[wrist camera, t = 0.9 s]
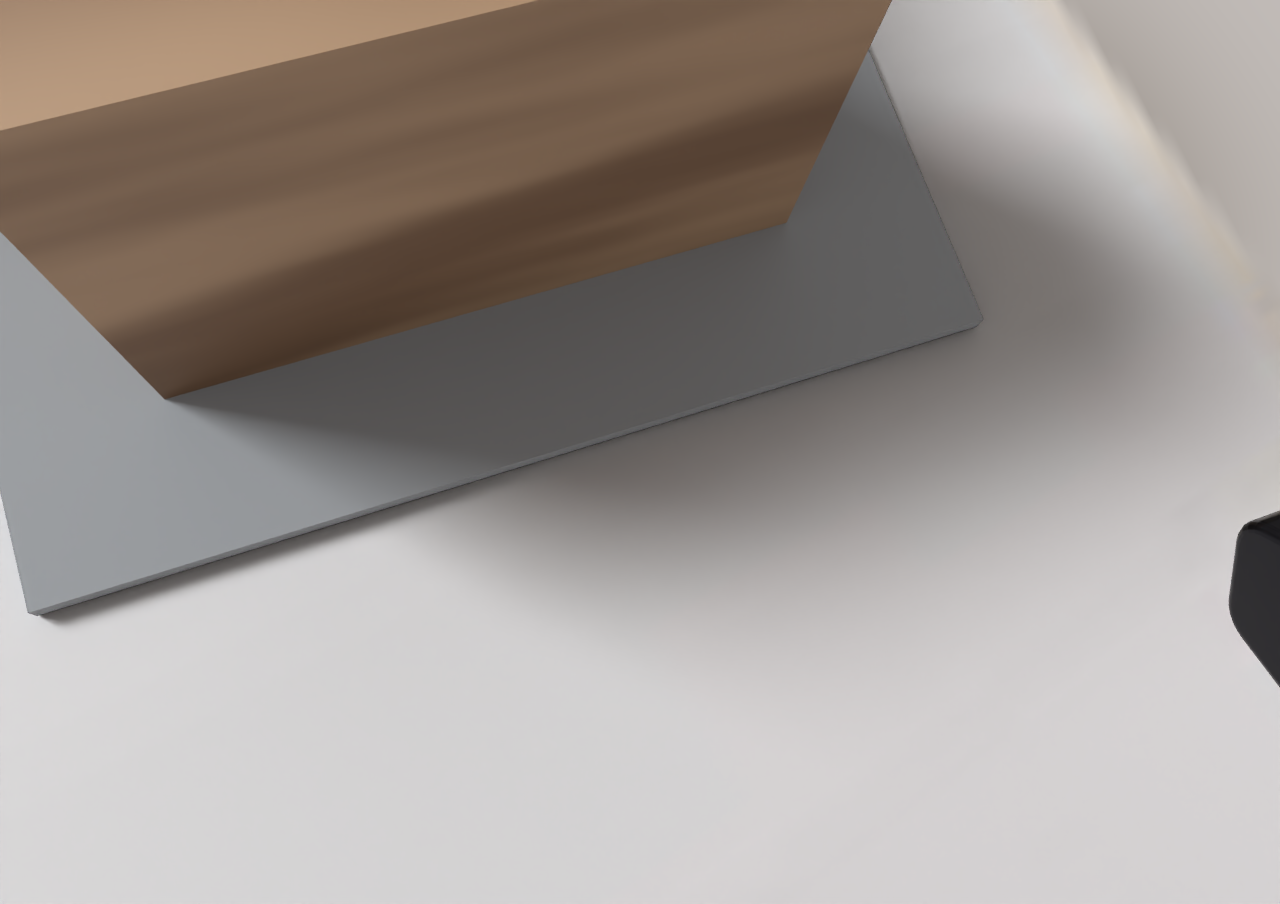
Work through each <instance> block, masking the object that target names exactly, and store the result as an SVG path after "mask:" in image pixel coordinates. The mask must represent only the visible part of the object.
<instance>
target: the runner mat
mask: <svg viewBox="0 0 1280 904" xmlns="http://www.w3.org/2000/svg"><path fill="white" fill-rule="evenodd" d="M982 320H983V317H982V314H981V312H980V309H979V307H978V305H977V302H976V300H975V298H974V295H973V293H972V291H971V288H970V286H969V284H968V281H967V279H966V277H965V274H964V272H963V270H962V267H961V265H960V263H959V260H958V258H957V256H956V253H955V251H954V249H953V246H952V244H951V242H950V239H949V237H948V235H947V232H946V230H945V228H944V225H943V223H942V221H941V218H940V216H939V214H938V211H937V209H936V207H935V204H934V202H933V199H932V197H931V195H930V192H929V190H928V188H927V185H926V183H925V181H924V178H923V176H922V174H921V171H920V169H919V167H918V164H917V162H916V160H915V157H914V155H913V153H912V150H911V148H910V146H909V143H908V141H907V139H906V136H905V134H904V132H903V129H902V127H901V125H900V122H899V120H898V118H897V115H896V113H895V111H894V108H893V106H892V104H891V101H890V99H889V96H888V94H887V92H886V89H885V87H884V85H883V82H882V80H881V78H880V75H879V73H878V71H877V68H876V66H875V64H874V61H873V59H872V57H871V54H870V52H869V50H868V52H867V54H866V56H865V58H864V60H863V62H862V64H861V66H860V68H859V71H858V73H857V75H856V77H855V79H854V81H853V83H852V85H851V87H850V90H849V92H848V94H847V96H846V98H845V100H844V102H843V104H842V106H841V109H840V111H839V113H838V115H837V117H836V119H835V121H834V123H833V125H832V127H831V130H830V132H829V134H828V136H827V138H826V140H825V142H824V144H823V146H822V149H821V151H820V153H819V155H818V157H817V159H816V161H815V163H814V165H813V168H812V170H811V172H810V174H809V176H808V178H807V180H806V182H805V184H804V187H803V189H802V191H801V193H800V195H799V197H798V199H797V201H796V203H795V206H794V208H793V210H792V212H791V214H790V216H789V218H788V220H787V222H786V223H784V224H780V225H777V226H773V227H770V228H766V229H763V230H759V231H756V232H752V233H748V234H745V235H741V236H738V237H734V238H731V239H727V240H724V241H720V242H717V243H713V244H710V245H706V246H703V247H699V248H696V249H692V250H689V251H685V252H682V253H678V254H675V255H671V256H668V257H664V258H660V259H657V260H653V261H650V262H646V263H643V264H639V265H636V266H632V267H629V268H625V269H622V270H618V271H615V272H611V273H608V274H604V275H601V276H597V277H594V278H590V279H587V280H583V281H579V282H576V283H572V284H569V285H565V286H562V287H558V288H555V289H551V290H548V291H544V292H541V293H537V294H534V295H530V296H527V297H523V298H520V299H516V300H513V301H509V302H506V303H502V304H499V305H495V306H491V307H488V308H484V309H481V310H477V311H474V312H470V313H467V314H463V315H460V316H456V317H453V318H449V319H446V320H442V321H439V322H435V323H432V324H428V325H425V326H421V327H418V328H414V329H410V330H407V331H403V332H400V333H396V334H393V335H389V336H386V337H382V338H379V339H375V340H372V341H368V342H365V343H361V344H358V345H354V346H351V347H347V348H344V349H340V350H337V351H333V352H330V353H326V354H322V355H319V356H315V357H312V358H308V359H305V360H301V361H298V362H294V363H291V364H287V365H284V366H280V367H277V368H273V369H270V370H266V371H263V372H259V373H256V374H252V375H249V376H245V377H241V378H238V379H234V380H231V381H227V382H224V383H220V384H217V385H213V386H210V387H206V388H203V389H199V390H196V391H192V392H189V393H185V394H182V395H178V396H175V397H171V398H168V399H164V398H163V397H162V396H161V395H160V394H159V393H158V392H157V391H156V390H155V389H154V388H153V387H152V386H151V385H150V384H149V383H148V382H147V381H146V380H145V379H144V378H143V377H142V376H141V375H140V374H139V373H138V372H137V371H136V370H135V369H134V368H133V367H132V366H131V365H130V364H129V363H128V362H127V361H126V360H125V359H124V358H123V356H122V355H121V354H120V353H119V352H118V351H117V350H116V349H115V348H114V347H113V346H112V345H111V344H110V343H109V342H108V341H107V340H106V339H105V338H104V337H103V336H102V335H101V334H100V333H99V332H98V331H97V330H96V329H95V328H94V327H93V326H92V325H91V324H90V323H89V322H88V321H87V320H86V319H85V318H84V317H83V316H82V315H81V314H80V313H79V312H78V311H77V310H76V309H75V307H74V306H73V305H72V304H71V303H70V302H69V301H68V300H67V299H66V298H65V297H64V296H63V295H62V294H61V293H60V292H59V291H58V290H57V289H56V288H55V287H54V286H53V285H52V284H51V283H50V282H49V281H48V280H47V279H46V278H45V277H44V276H43V275H42V274H41V273H40V272H39V271H38V270H37V269H36V268H35V267H34V266H33V265H32V264H31V263H30V262H29V261H28V260H27V258H26V257H25V256H24V255H23V254H22V253H21V252H20V251H19V250H18V249H17V248H16V247H15V246H14V245H13V244H12V243H11V242H10V241H9V240H8V239H7V238H6V237H5V236H4V235H3V234H2V233H1V232H0V493H1V497H2V502H3V506H4V510H5V515H6V519H7V523H8V528H9V532H10V537H11V541H12V545H13V550H14V554H15V558H16V563H17V567H18V572H19V576H20V580H21V585H22V589H23V594H24V598H25V602H26V607H27V611H28V613H30V614H33V615H36V616H38V615H41V614H45V613H48V612H51V611H54V610H58V609H61V608H64V607H67V606H71V605H74V604H77V603H80V602H84V601H87V600H90V599H93V598H97V597H100V596H103V595H106V594H110V593H113V592H116V591H119V590H123V589H126V588H129V587H132V586H136V585H139V584H142V583H145V582H149V581H152V580H155V579H158V578H162V577H165V576H168V575H171V574H175V573H178V572H181V571H184V570H188V569H191V568H194V567H197V566H201V565H204V564H207V563H210V562H214V561H217V560H220V559H223V558H227V557H230V556H233V555H236V554H240V553H243V552H246V551H249V550H253V549H256V548H259V547H262V546H266V545H269V544H272V543H275V542H279V541H282V540H285V539H288V538H292V537H295V536H298V535H301V534H305V533H308V532H311V531H314V530H317V529H321V528H324V527H327V526H330V525H334V524H337V523H340V522H343V521H347V520H350V519H353V518H356V517H360V516H363V515H366V514H369V513H373V512H376V511H379V510H382V509H386V508H389V507H392V506H395V505H399V504H402V503H405V502H408V501H412V500H415V499H418V498H421V497H425V496H428V495H431V494H434V493H438V492H441V491H444V490H447V489H451V488H454V487H457V486H460V485H464V484H467V483H470V482H473V481H477V480H480V479H483V478H486V477H490V476H493V475H496V474H499V473H503V472H506V471H509V470H512V469H516V468H519V467H522V466H525V465H529V464H532V463H535V462H538V461H542V460H545V459H548V458H551V457H555V456H558V455H561V454H564V453H568V452H571V451H574V450H577V449H580V448H584V447H587V446H590V445H593V444H597V443H600V442H603V441H606V440H610V439H613V438H616V437H619V436H623V435H626V434H629V433H632V432H636V431H639V430H642V429H645V428H649V427H652V426H655V425H658V424H662V423H665V422H668V421H671V420H675V419H678V418H681V417H684V416H688V415H691V414H694V413H697V412H701V411H704V410H707V409H710V408H714V407H717V406H720V405H723V404H727V403H730V402H733V401H736V400H740V399H743V398H746V397H749V396H753V395H756V394H759V393H762V392H766V391H769V390H772V389H775V388H779V387H782V386H785V385H788V384H792V383H795V382H798V381H801V380H805V379H808V378H811V377H814V376H818V375H821V374H824V373H827V372H831V371H834V370H837V369H840V368H844V367H847V366H850V365H853V364H856V363H860V362H863V361H866V360H869V359H873V358H876V357H879V356H882V355H886V354H889V353H892V352H895V351H899V350H902V349H905V348H908V347H912V346H915V345H918V344H921V343H925V342H928V341H931V340H934V339H938V338H941V337H944V336H947V335H951V334H954V333H957V332H960V331H964V330H967V329H970V328H973V327H976V326H977V325H978V324H979V323H980V322H981V321H982Z"/></svg>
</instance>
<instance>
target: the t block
mask: <svg viewBox="0 0 1280 904" xmlns="http://www.w3.org/2000/svg"><path fill="white" fill-rule="evenodd" d="M891 1H892V0H0V232H1V233H2V234H3V235H4V236H5V237H6V238H7V239H8V240H9V241H10V242H11V243H12V244H13V245H14V246H15V247H16V248H17V249H18V250H19V251H20V252H21V253H22V254H23V255H24V256H25V257H26V258H27V260H28V261H29V262H30V263H31V264H32V265H33V266H34V267H35V268H36V269H37V270H38V271H39V272H40V273H41V274H42V275H43V276H44V277H45V278H46V279H47V280H48V281H49V282H50V283H51V284H52V285H53V286H54V287H55V288H56V289H57V290H58V291H59V292H60V293H61V294H62V295H63V296H64V297H65V298H66V299H67V300H68V301H69V302H70V303H71V304H72V305H73V306H74V307H75V309H76V310H77V311H78V312H79V313H80V314H81V315H82V316H83V317H84V318H85V319H86V320H87V321H88V322H89V323H90V324H91V325H92V326H93V327H94V328H95V329H96V330H97V331H98V332H99V333H100V334H101V335H102V336H103V337H104V338H105V339H106V340H107V341H108V342H109V343H110V344H111V345H112V346H113V347H114V348H115V349H116V350H117V351H118V352H119V353H120V354H121V355H122V356H123V358H124V359H125V360H126V361H127V362H128V363H129V364H130V365H131V366H132V367H133V368H134V369H135V370H136V371H137V372H138V373H139V374H140V375H141V376H142V377H143V378H144V379H145V380H146V381H147V382H148V383H149V384H150V385H151V386H152V387H153V388H154V389H155V390H156V391H157V392H158V393H159V394H160V395H161V396H162V397H163V398H164V399H168V398H171V397H175V396H178V395H182V394H185V393H189V392H192V391H196V390H199V389H203V388H206V387H210V386H213V385H217V384H220V383H224V382H227V381H231V380H234V379H238V378H241V377H245V376H249V375H252V374H256V373H259V372H263V371H266V370H270V369H273V368H277V367H280V366H284V365H287V364H291V363H294V362H298V361H301V360H305V359H308V358H312V357H315V356H319V355H322V354H326V353H330V352H333V351H337V350H340V349H344V348H347V347H351V346H354V345H358V344H361V343H365V342H368V341H372V340H375V339H379V338H382V337H386V336H389V335H393V334H396V333H400V332H403V331H407V330H410V329H414V328H418V327H421V326H425V325H428V324H432V323H435V322H439V321H442V320H446V319H449V318H453V317H456V316H460V315H463V314H467V313H470V312H474V311H477V310H481V309H484V308H488V307H491V306H495V305H499V304H502V303H506V302H509V301H513V300H516V299H520V298H523V297H527V296H530V295H534V294H537V293H541V292H544V291H548V290H551V289H555V288H558V287H562V286H565V285H569V284H572V283H576V282H579V281H583V280H587V279H590V278H594V277H597V276H601V275H604V274H608V273H611V272H615V271H618V270H622V269H625V268H629V267H632V266H636V265H639V264H643V263H646V262H650V261H653V260H657V259H660V258H664V257H668V256H671V255H675V254H678V253H682V252H685V251H689V250H692V249H696V248H699V247H703V246H706V245H710V244H713V243H717V242H720V241H724V240H727V239H731V238H734V237H738V236H741V235H745V234H748V233H752V232H756V231H759V230H763V229H766V228H770V227H773V226H777V225H780V224H784V223H786V222H787V220H788V218H789V216H790V214H791V212H792V210H793V208H794V206H795V203H796V201H797V199H798V197H799V195H800V193H801V191H802V189H803V187H804V184H805V182H806V180H807V178H808V176H809V174H810V172H811V170H812V168H813V165H814V163H815V161H816V159H817V157H818V155H819V153H820V151H821V149H822V146H823V144H824V142H825V140H826V138H827V136H828V134H829V132H830V130H831V127H832V125H833V123H834V121H835V119H836V117H837V115H838V113H839V111H840V109H841V106H842V104H843V102H844V100H845V98H846V96H847V94H848V92H849V90H850V87H851V85H852V83H853V81H854V79H855V77H856V75H857V73H858V71H859V68H860V66H861V64H862V62H863V60H864V58H865V56H866V54H867V52H868V49H869V47H870V45H871V43H872V41H873V39H874V37H875V35H876V33H877V30H878V28H879V26H880V24H881V22H882V20H883V18H884V16H885V14H886V11H887V9H888V7H889V5H890V3H891Z"/></svg>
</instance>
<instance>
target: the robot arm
mask: <svg viewBox="0 0 1280 904" xmlns="http://www.w3.org/2000/svg"><path fill="white" fill-rule="evenodd" d="M1229 610H1230V615H1231V618H1232V620H1233V623H1234V625H1235V627H1236V629H1237V631H1238V632H1239V634H1240V636H1241V637H1242V638H1243V640H1244V641H1245V642H1246V644H1247V645H1248V646H1249V648H1250V649H1251V650H1252V652H1253V653H1254V654H1255V655H1256V657H1257V658H1258V659H1259V661H1260V662H1261V663H1262V665H1263V666H1264V667H1265V669H1266V670H1267V671H1268V672H1269V674H1270V675H1271V676H1272V678H1273V679H1274V680H1275V682H1276V683H1277V684H1278V686H1279V687H1280V511H1277V512H1275V513H1272V514H1269V515H1266V516H1264V517H1261V518H1258V519H1255V520H1253V521H1250V522H1248V523H1247V524H1245V525H1244V526H1243V527H1242V529H1241V530H1240V532H1239V534H1238V537H1237V541H1236V549H1235V556H1234V564H1233V572H1232V579H1231V587H1230V594H1229Z"/></svg>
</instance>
